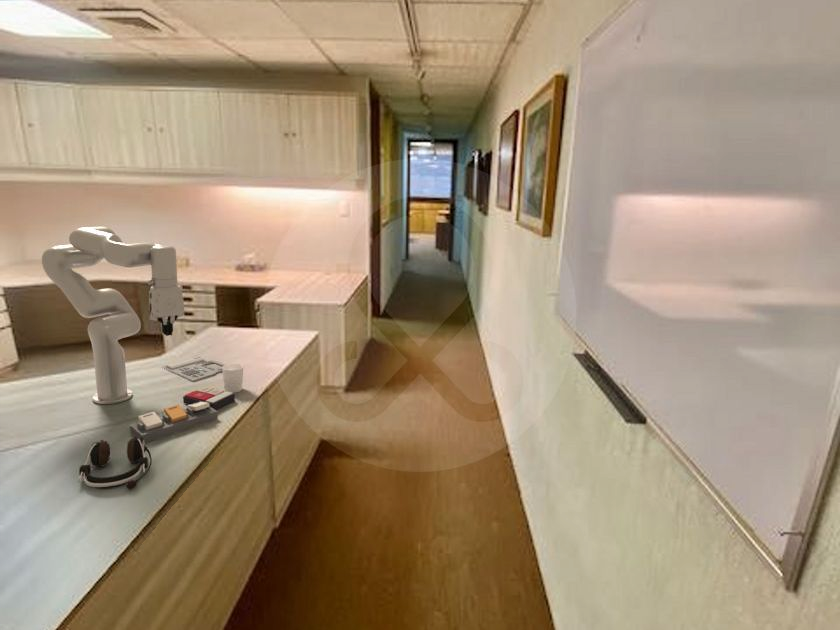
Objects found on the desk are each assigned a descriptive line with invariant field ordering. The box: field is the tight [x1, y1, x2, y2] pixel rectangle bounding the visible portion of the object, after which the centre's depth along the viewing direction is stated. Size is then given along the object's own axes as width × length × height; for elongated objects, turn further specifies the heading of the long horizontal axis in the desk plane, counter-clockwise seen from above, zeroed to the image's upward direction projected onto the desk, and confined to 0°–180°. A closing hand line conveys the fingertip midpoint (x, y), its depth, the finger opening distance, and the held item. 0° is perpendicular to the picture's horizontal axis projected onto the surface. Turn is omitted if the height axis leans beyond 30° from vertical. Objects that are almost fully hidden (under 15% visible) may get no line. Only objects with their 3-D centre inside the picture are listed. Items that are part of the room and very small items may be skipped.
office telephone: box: [161, 356, 226, 383], centre depth 212 cm, size 23×3×20 cm
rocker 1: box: [138, 411, 162, 430], centre depth 155 cm, size 5×6×2 cm
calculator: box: [182, 386, 236, 411], centre depth 181 cm, size 11×4×15 cm
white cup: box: [221, 362, 244, 394], centre depth 192 cm, size 8×8×10 cm
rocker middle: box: [163, 404, 187, 422], centre depth 161 cm, size 5×6×2 cm
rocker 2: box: [186, 402, 210, 411], centre depth 167 cm, size 5×6×2 cm
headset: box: [77, 436, 153, 490], centre depth 133 cm, size 17×8×20 cm
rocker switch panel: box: [129, 402, 219, 444], centre depth 161 cm, size 25×9×5 cm, turn 142°
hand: (167, 334), depth 165 cm, fingers closed
